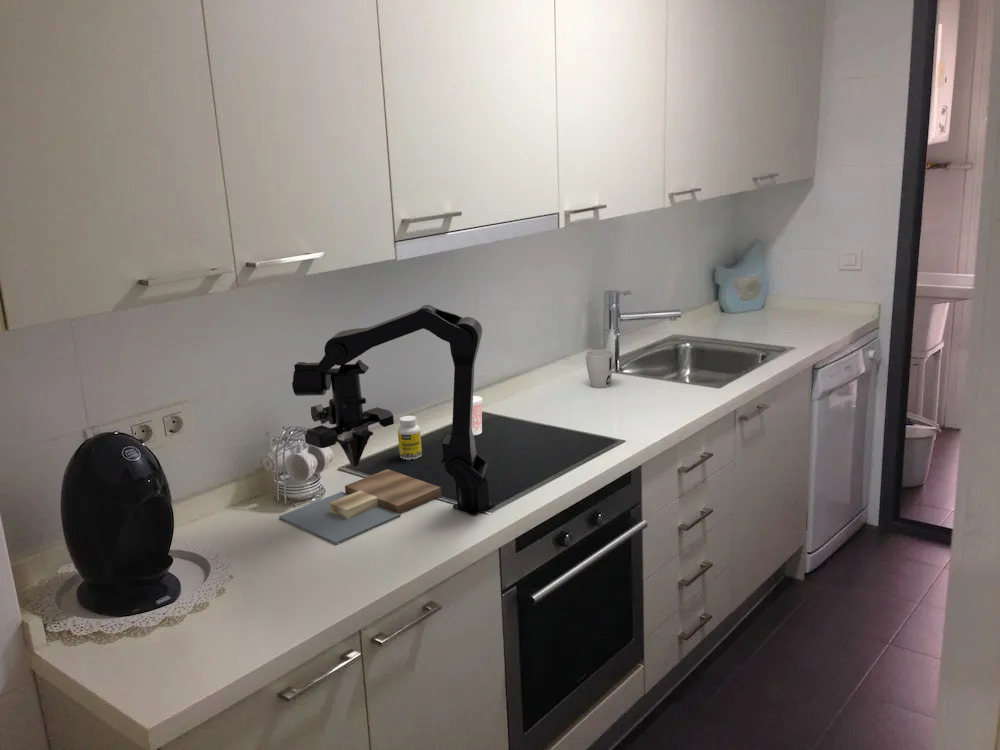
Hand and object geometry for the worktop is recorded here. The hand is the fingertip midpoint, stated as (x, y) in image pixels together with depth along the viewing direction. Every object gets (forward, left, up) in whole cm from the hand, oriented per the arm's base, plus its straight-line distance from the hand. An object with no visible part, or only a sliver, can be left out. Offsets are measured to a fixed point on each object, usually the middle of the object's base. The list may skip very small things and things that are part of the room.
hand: (354, 466), depth 186 cm
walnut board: (0, -9, -10) cm, 13 cm away
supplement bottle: (+15, -27, -10) cm, 32 cm away
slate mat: (0, +5, -10) cm, 11 cm away
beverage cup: (+15, -48, -10) cm, 51 cm away
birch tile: (0, +1, -8) cm, 8 cm away
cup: (+13, -99, -10) cm, 101 cm away
